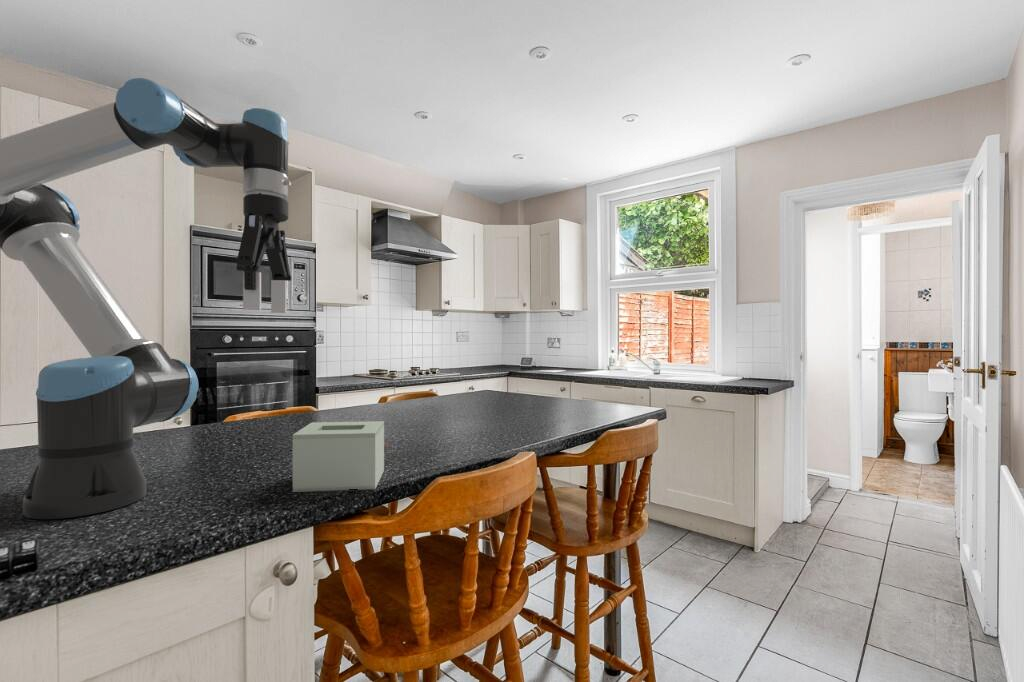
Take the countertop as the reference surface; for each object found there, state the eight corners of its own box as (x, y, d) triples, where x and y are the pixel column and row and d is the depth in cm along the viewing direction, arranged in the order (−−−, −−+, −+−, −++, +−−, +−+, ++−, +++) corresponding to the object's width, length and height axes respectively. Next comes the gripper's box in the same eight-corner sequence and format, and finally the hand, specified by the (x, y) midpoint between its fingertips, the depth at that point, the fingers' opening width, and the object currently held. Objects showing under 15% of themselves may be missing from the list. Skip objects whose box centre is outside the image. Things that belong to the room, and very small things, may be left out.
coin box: (292, 492, 86) (292, 434, 86) (311, 472, 98) (311, 422, 98) (375, 489, 88) (375, 433, 88) (384, 470, 100) (384, 421, 99)
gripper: (262, 177, 80) (262, 308, 81) (306, 214, 105) (306, 314, 105) (213, 175, 79) (213, 307, 80) (269, 213, 104) (269, 313, 104)
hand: (266, 311), depth 92 cm, fingers open, 13 cm apart
